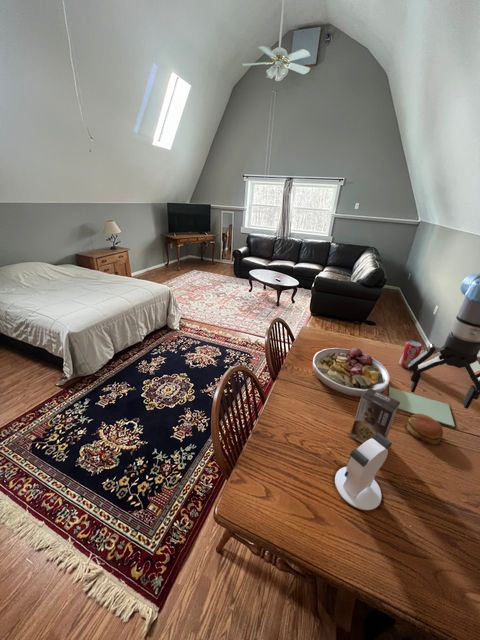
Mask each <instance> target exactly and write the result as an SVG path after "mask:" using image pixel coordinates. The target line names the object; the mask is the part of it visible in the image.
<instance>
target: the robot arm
mask: <svg viewBox="0 0 480 640" xmlns="http://www.w3.org/2000/svg"><path fill="white" fill-rule="evenodd" d="M460 292H461V294H463V295H464V298H463V300H462V302H461V305H460V308H459V310H458V312H457V315H456V317H455V319H454V321H453V323H452V325H451V328H450V331H449V333H448V335H447V337H446V338H445V342H444V344H443V346H441V347H439V346H436V345H435V344H434V343H430V344H429V345H428V347H427V348H426V350H424V351H423V352H421V353H420V354H419V356H418V357H416V358H415V359H414V360H412V361H411V362H410V363H409V364H408V368H407V369H408V370H409V371H412V373H411V375H410V382H412V383H411V385H410V393H412V394H415V391H416V389H417V386H418V384H419V382H420V380H421V377H422V373H423V372H426V371H429V370H430V369H434V368H435V367H438V366H443V365H447V366H451V367H455V368H458V369H461V368H464V369H465V370H466V372H467V373H468V374H467V375H469V377H470V379H471V381H472V382H473V384H474V385H473V384H471V385H470V387H469V389H468V391H467V393H466V395H465V397H464V399H463V401H462V405H463V407H464V409H466V410H468V409H469V408H470V406H471V404H472V402H473V400H478V399H479V398H480V380H479V378H478V377H477V375H476V373H475V371H474V369H473V368H472V366H471V365H472V364H474V363H476V362H478V365H480V356H478V355H479V353H480V273H472V274H470V275H468V276H467V277H465V278H464V279H463V280H462V282H461V283H460ZM437 353H440V354H438V355H437V356H435V357H433V358H432V359H429V358H430V357H432V356H433V355H435V354H437ZM428 359H429V360H428ZM426 360H427V361H426Z"/></svg>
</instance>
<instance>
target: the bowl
mask: <svg viewBox="0 0 480 640" xmlns="http://www.w3.org/2000/svg"><path fill="white" fill-rule="evenodd" d="M312 359H313V360H312V369H313V372H314V373H315V375H316V377H317V378H318V379H319V380H320V381H321V382H322V383H323V384H324V385H325V386H327V387H328V388H330V389H332V390H334V391H336V392H338V393H341V394H344V395H347V396H351V397H360V398H361V396H362V395H363V394H364V393H365V392H366V391H367V390H368V389H369V388H372V389H374V390H376V391H378V392H380V393H382V392H384V391H385V390H386V389H387V388H388V386H389V383H390V380H391V377H390V376H391V375H390V373H389V371H388V369H387V368H386V367H385V365H383V364H382V363H381V362H380V361H378V360H376V359H375V358H373V357H372V356H371V355H369V354H365V353H363V351H362V350H361V349H360V348H358V347H357V348H356V347H354V348H351V349H348V348H340V347H331V348H324V349H321V350H319V351H318V352H316V353H315V355H314V356H313V358H312Z"/></svg>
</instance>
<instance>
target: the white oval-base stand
mask: <svg viewBox="0 0 480 640" xmlns="http://www.w3.org/2000/svg"><path fill="white" fill-rule="evenodd" d="M392 444H393V442H391V440H389V439H388V438H387V439H386V438H385V437H383V436H382V435H381V434H379V433H377V434H376V435H375V436H374V438H372V439H369V440H367V441H366V442H364V443H361V444H360V445H359V446H358V447H357V448H353V449H352V450H351V452H350V454H349V456H350V457H349V458H348V460H347V463H346V464H347V465H346V466H343V467H341V468H340V469H338V470H337V471H336V473H335V477H334V484H335V488H336V491H337V492H338V494H339V495H340V497H341V499H343V500H344V502H346V503H348V504H349V505H350V506H352V507H354V508H356V509H359V510H362V511H372V510H375V509H376V508H378V507H379V506H380V504H381V503H382V502H381V501H382V490H381V488H380V486H379V484H378V482H377V481H376V480H375V478H376V475H377V473H378V471H379V470H381V468H382V467H383V465H384V463H385V462H386V460H387V458H388V454H389V449H390V448H391V447H392Z"/></svg>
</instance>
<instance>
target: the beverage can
mask: <svg viewBox="0 0 480 640" xmlns="http://www.w3.org/2000/svg"><path fill="white" fill-rule="evenodd" d="M422 348H423V347H422V343H420V342H419V341H416V340H408V341H407V342H406V343H405V345H404V348H403V350H402V353H401V355H400V359H399V361H398V363H399V365H400V366H401V367H403V368H405V369H408V364H409V363H410V362H411V361H412V360H414V359H415V358H416V357H418V356H419V355H420V354H421V353H422Z"/></svg>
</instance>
